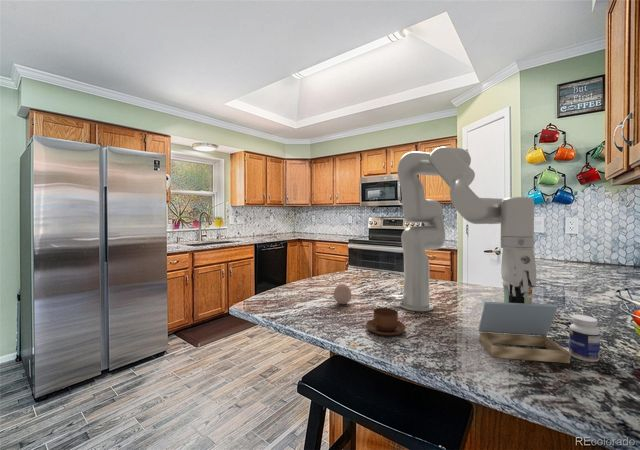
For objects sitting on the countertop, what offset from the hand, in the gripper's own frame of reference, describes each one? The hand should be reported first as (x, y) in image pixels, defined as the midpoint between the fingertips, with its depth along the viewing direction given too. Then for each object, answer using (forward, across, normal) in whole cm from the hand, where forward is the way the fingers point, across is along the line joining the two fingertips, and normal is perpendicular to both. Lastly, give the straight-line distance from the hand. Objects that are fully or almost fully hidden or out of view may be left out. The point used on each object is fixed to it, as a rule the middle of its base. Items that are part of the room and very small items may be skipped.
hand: (516, 310), depth 80 cm
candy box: (+10, +42, -18) cm, 47 cm away
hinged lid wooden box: (+10, -3, 0) cm, 10 cm away
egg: (+10, +31, +51) cm, 61 cm away
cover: (+3, 0, 0) cm, 3 cm away
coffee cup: (+10, +32, -13) cm, 36 cm away
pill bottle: (+10, -4, -14) cm, 17 cm away
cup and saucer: (+10, +5, +35) cm, 36 cm away
